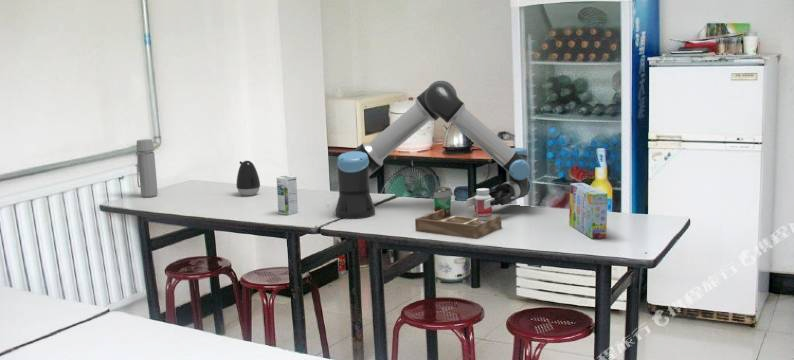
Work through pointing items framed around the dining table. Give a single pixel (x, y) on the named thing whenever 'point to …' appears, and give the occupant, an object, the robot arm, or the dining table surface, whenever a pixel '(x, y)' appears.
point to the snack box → (588, 210)
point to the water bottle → (146, 168)
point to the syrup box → (287, 195)
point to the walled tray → (456, 225)
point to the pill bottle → (482, 204)
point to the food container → (443, 200)
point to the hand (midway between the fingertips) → (476, 204)
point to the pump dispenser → (247, 179)
